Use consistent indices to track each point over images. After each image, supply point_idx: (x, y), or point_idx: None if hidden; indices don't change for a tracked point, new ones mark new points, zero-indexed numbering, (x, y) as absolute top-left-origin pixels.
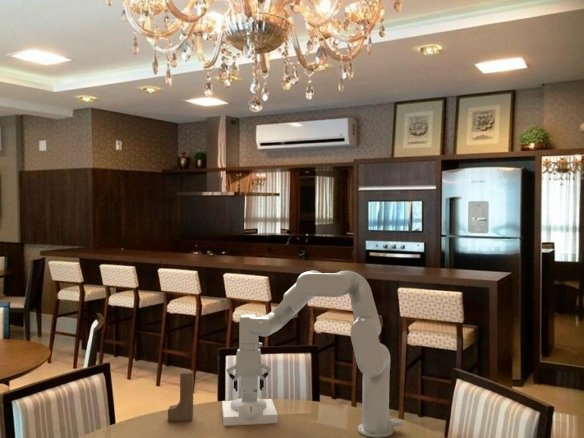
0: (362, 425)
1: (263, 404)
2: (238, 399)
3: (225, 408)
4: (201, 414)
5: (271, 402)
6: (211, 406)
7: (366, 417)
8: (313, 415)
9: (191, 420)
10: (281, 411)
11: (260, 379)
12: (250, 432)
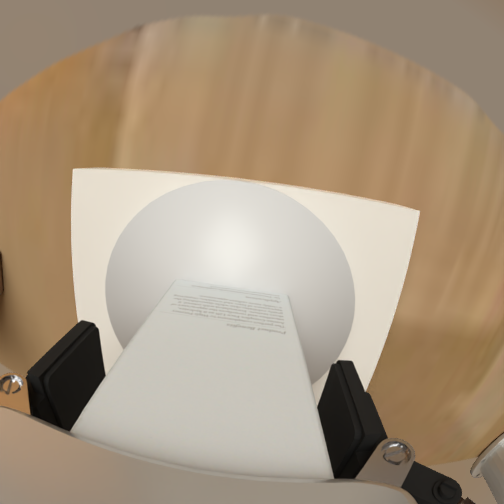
0: (491, 460)
1: (319, 360)
2: (162, 213)
3: (87, 308)
4: (20, 225)
5: (394, 283)
6: (60, 115)
7: (491, 487)
8: (486, 358)
9: (2, 291)
10: (416, 292)
11: (346, 464)
12: None
